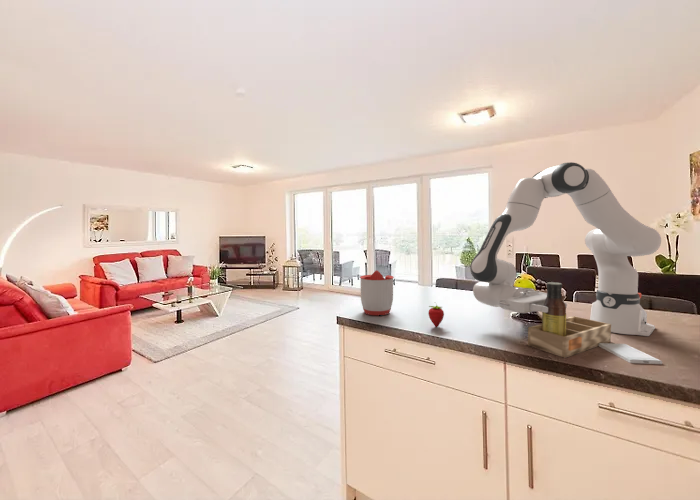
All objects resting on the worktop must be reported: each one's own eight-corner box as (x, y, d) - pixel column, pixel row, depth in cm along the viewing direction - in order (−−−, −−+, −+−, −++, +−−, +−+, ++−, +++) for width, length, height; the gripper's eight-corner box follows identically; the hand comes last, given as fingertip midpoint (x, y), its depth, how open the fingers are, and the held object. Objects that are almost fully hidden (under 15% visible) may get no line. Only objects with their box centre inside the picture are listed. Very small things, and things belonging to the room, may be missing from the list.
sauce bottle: (551, 340, 98) (553, 280, 97) (570, 346, 92) (572, 283, 91) (536, 342, 96) (538, 282, 94) (555, 349, 90) (557, 285, 89)
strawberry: (428, 329, 113) (428, 303, 113) (428, 323, 121) (428, 299, 120) (444, 330, 112) (444, 304, 111) (443, 324, 119) (443, 300, 118)
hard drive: (598, 342, 95) (630, 359, 83) (626, 343, 95) (662, 360, 82) (598, 347, 96) (630, 364, 83) (626, 348, 95) (662, 365, 82)
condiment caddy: (573, 332, 109) (573, 316, 109) (612, 342, 99) (613, 324, 98) (527, 345, 97) (528, 327, 96) (566, 358, 86) (567, 338, 86)
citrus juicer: (398, 309, 143) (398, 268, 142) (388, 319, 127) (388, 273, 126) (368, 306, 150) (368, 267, 148) (354, 315, 134) (354, 271, 133)
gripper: (496, 293, 100) (537, 301, 88) (532, 287, 109) (575, 294, 97) (495, 311, 100) (537, 322, 88) (532, 304, 110) (574, 313, 97)
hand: (557, 307), depth 93 cm, fingers open, 8 cm apart
